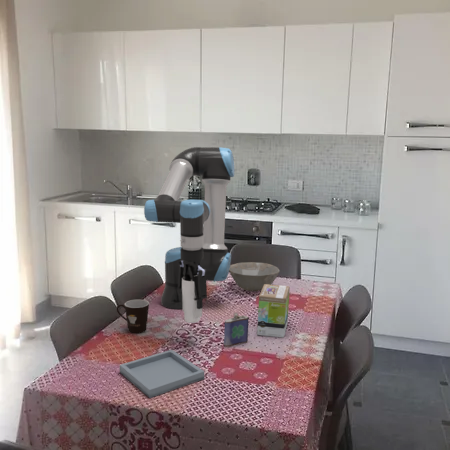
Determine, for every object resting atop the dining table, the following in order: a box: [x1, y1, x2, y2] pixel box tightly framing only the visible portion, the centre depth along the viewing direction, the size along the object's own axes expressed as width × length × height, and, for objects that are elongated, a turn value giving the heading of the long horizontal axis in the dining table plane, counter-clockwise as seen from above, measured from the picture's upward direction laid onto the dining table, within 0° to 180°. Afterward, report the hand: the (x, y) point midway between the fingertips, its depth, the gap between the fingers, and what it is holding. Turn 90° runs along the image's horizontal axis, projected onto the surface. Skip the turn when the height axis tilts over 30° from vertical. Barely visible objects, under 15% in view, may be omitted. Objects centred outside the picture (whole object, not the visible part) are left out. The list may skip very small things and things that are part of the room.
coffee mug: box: [116, 299, 150, 335], centre depth 181 cm, size 12×9×10 cm
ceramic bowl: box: [229, 261, 280, 293], centre depth 227 cm, size 22×23×10 cm
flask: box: [223, 312, 250, 348], centre depth 170 cm, size 9×3×11 cm, turn 121°
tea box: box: [256, 284, 291, 338], centre depth 182 cm, size 15×10×15 cm
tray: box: [119, 349, 205, 399], centre depth 147 cm, size 18×18×2 cm
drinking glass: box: [182, 277, 201, 324], centre depth 168 cm, size 7×7×15 cm
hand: (192, 313), depth 169 cm, fingers closed on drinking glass, 6 cm apart
